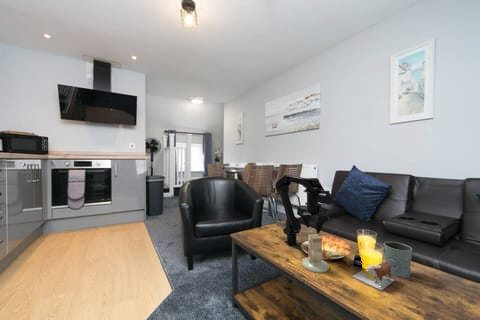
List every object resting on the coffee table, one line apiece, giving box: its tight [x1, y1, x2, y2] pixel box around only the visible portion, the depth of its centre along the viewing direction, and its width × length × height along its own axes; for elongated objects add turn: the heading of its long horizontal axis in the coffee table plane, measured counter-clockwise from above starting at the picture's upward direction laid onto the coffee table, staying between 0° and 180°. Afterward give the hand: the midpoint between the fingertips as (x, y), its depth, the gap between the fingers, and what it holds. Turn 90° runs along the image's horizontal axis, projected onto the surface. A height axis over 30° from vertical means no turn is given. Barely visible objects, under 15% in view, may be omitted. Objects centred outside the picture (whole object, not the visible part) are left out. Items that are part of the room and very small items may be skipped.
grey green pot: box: [383, 241, 413, 279], centre depth 88 cm, size 10×10×12 cm
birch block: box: [307, 233, 323, 266], centre depth 93 cm, size 4×4×13 cm
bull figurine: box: [365, 261, 392, 287], centre depth 80 cm, size 4×13×8 cm, turn 113°
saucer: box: [301, 257, 330, 274], centre depth 93 cm, size 12×12×1 cm
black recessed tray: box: [346, 254, 362, 269], centre depth 94 cm, size 12×7×5 cm, turn 48°
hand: (312, 230), depth 105 cm, fingers open, 9 cm apart
